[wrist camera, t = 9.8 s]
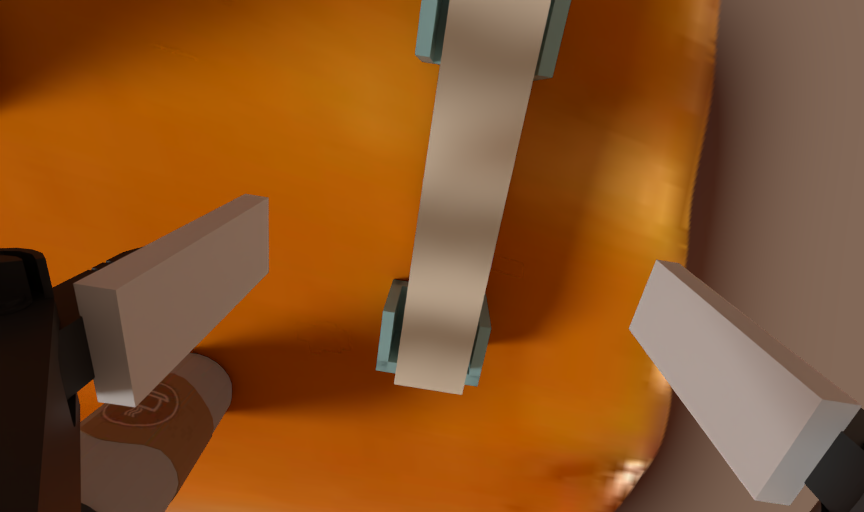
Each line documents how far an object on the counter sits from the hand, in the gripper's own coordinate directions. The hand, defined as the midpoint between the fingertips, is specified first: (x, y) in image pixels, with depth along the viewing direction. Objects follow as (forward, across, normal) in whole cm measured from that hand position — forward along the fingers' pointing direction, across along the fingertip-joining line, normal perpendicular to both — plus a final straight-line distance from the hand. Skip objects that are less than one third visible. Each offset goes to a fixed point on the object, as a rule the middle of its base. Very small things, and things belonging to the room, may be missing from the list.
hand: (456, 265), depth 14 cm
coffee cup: (+13, -18, -19) cm, 29 cm away
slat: (+12, 0, -1) cm, 12 cm away
